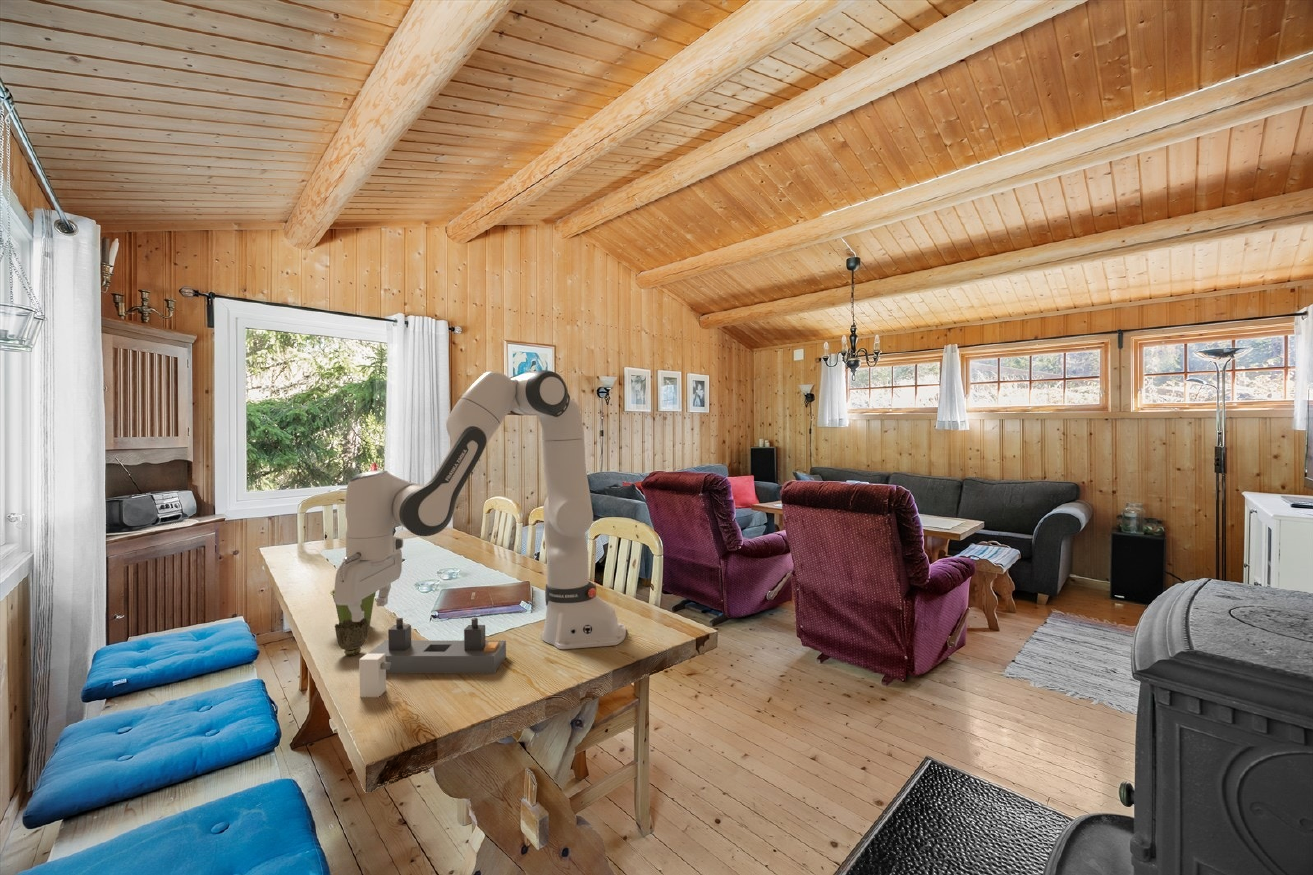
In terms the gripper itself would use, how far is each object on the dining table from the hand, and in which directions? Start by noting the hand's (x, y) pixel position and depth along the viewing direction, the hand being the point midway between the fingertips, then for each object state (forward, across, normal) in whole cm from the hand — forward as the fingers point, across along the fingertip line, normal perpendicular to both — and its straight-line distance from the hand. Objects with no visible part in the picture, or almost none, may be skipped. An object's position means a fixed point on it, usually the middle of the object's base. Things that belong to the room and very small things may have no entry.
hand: (370, 612), depth 117 cm
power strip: (+17, +14, -8) cm, 24 cm away
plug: (+17, 0, 0) cm, 17 cm away
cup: (+18, +20, +16) cm, 31 cm away
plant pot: (+18, +37, +25) cm, 48 cm away
